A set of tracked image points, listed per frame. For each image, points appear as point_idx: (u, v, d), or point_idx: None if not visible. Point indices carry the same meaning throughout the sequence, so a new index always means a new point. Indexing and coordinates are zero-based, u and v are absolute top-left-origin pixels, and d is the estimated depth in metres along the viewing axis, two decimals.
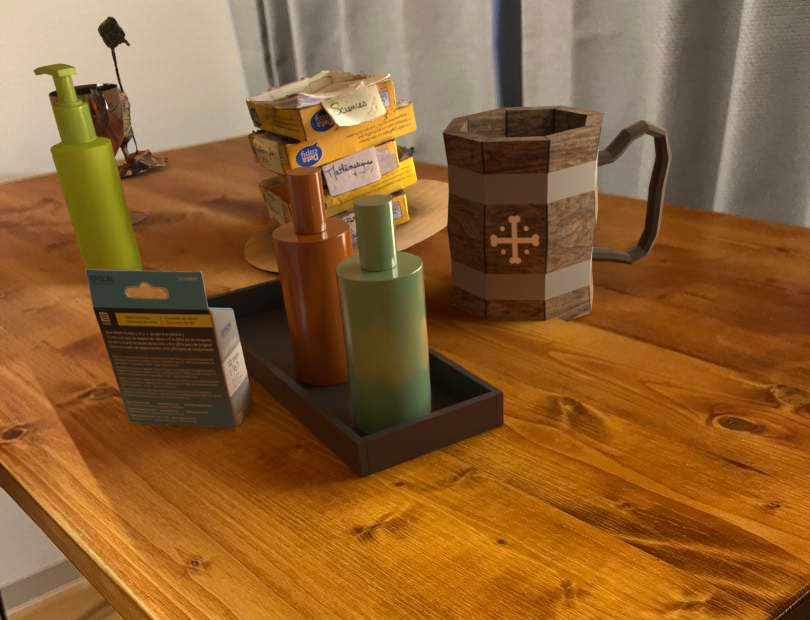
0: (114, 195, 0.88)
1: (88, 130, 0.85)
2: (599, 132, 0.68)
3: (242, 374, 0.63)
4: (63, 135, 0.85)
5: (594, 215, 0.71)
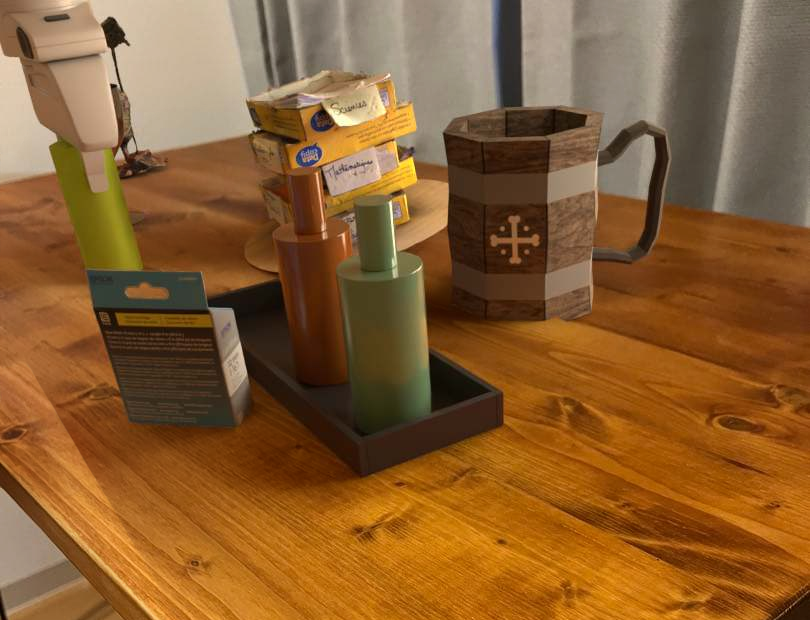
0: (112, 191, 0.89)
1: None
2: (599, 132, 0.68)
3: (242, 374, 0.63)
4: None
5: (594, 215, 0.71)
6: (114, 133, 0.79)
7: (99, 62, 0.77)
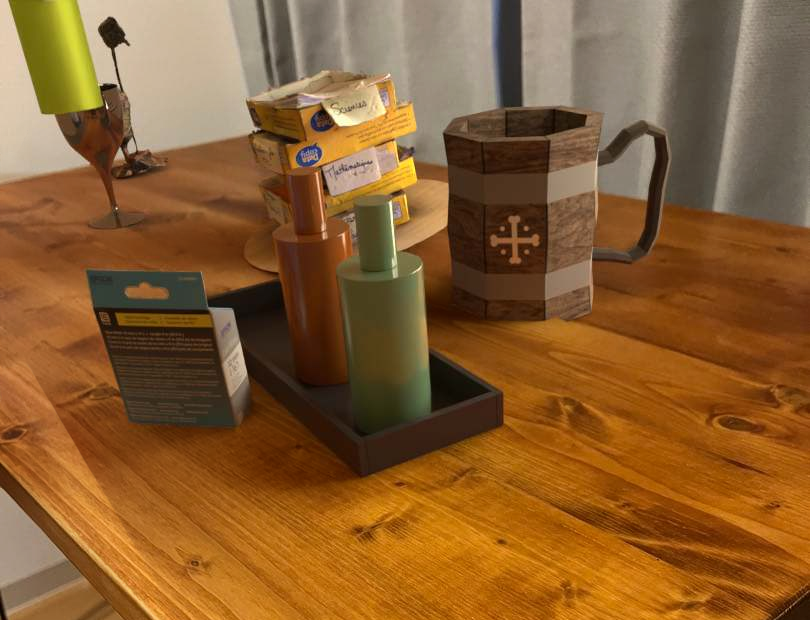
0: (67, 6, 0.78)
1: None
2: (599, 132, 0.68)
3: (242, 374, 0.63)
4: None
5: (594, 215, 0.71)
6: None
7: None
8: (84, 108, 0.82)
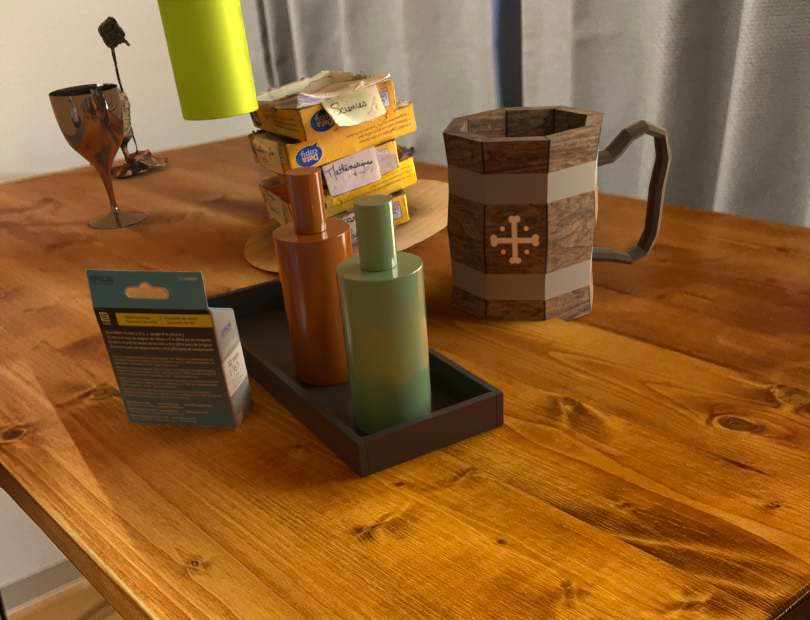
0: None
1: None
2: (599, 132, 0.68)
3: (242, 374, 0.63)
4: None
5: (594, 215, 0.71)
6: None
7: None
8: (240, 112, 0.66)
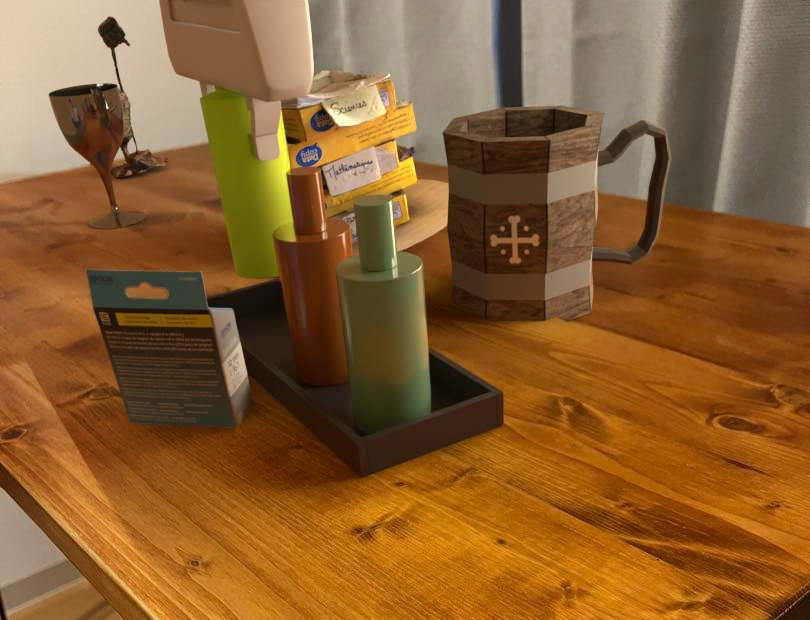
0: (281, 161, 0.67)
1: None
2: (599, 132, 0.68)
3: (242, 374, 0.63)
4: None
5: (594, 215, 0.71)
6: (309, 75, 0.57)
7: None
8: None
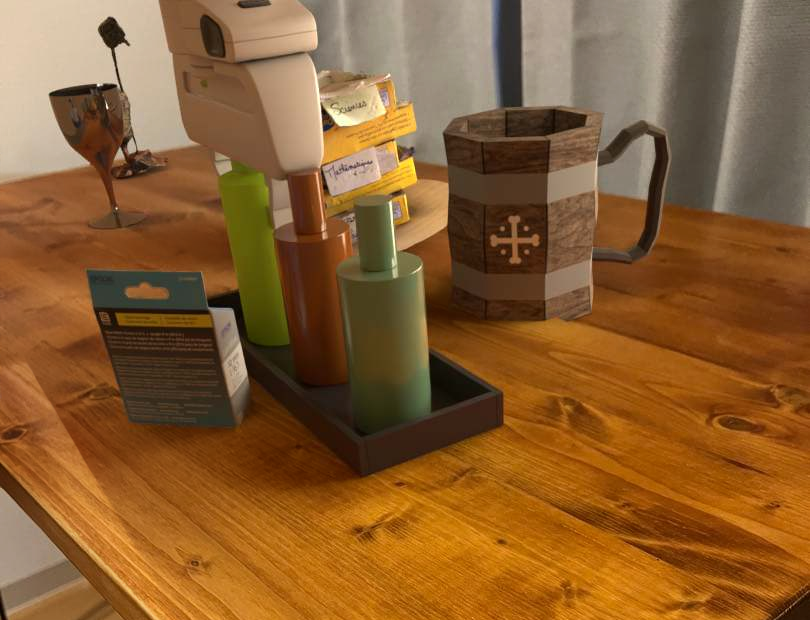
0: None
1: None
2: (599, 132, 0.68)
3: (242, 374, 0.63)
4: (237, 164, 0.67)
5: (594, 215, 0.71)
6: (319, 156, 0.60)
7: (307, 63, 0.58)
8: None
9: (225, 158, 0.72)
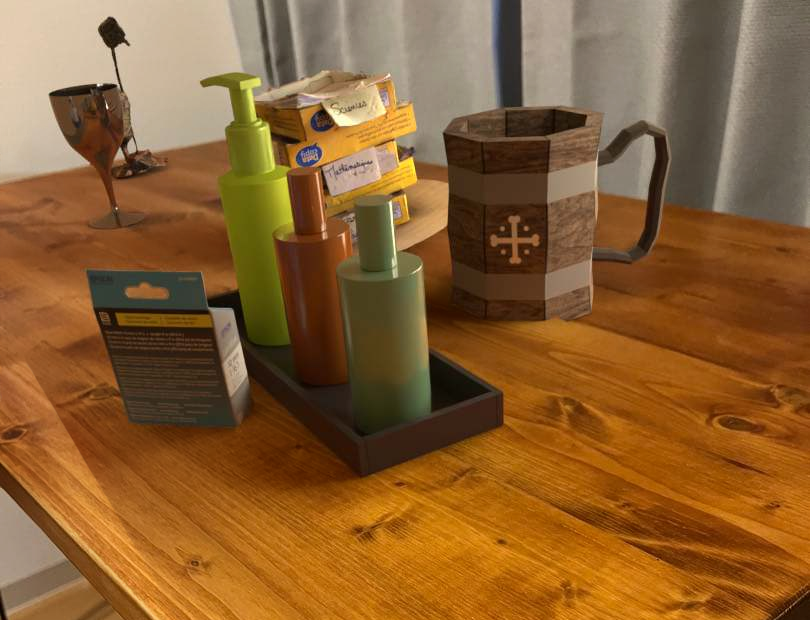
0: None
1: (269, 158, 0.67)
2: (599, 132, 0.68)
3: (242, 374, 0.63)
4: (237, 164, 0.67)
5: (594, 215, 0.71)
6: None
7: None
8: None
9: None
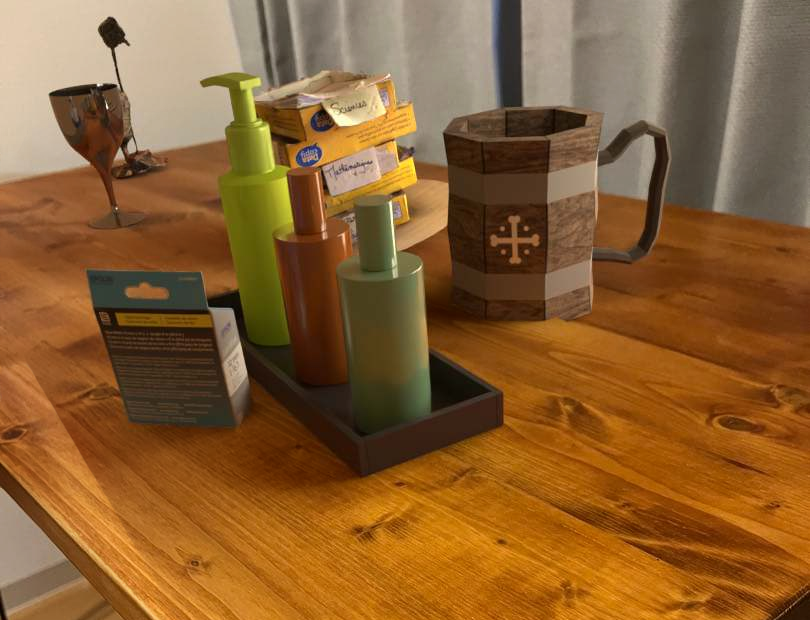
0: None
1: (269, 158, 0.67)
2: (599, 132, 0.68)
3: (242, 374, 0.63)
4: (237, 164, 0.67)
5: (594, 215, 0.71)
6: None
7: None
8: None
9: None
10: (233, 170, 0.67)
